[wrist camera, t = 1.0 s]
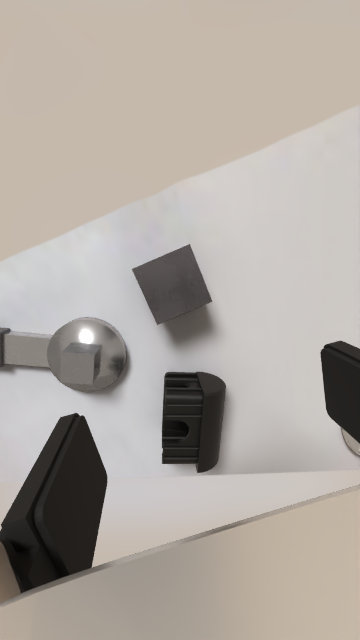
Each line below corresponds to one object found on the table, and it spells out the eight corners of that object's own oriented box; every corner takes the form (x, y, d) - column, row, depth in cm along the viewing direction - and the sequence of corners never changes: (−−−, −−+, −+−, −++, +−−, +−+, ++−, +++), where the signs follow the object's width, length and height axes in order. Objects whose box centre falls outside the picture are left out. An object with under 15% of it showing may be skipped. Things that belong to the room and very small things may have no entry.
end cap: (212, 435, 37) (223, 473, 30) (161, 435, 36) (162, 474, 29) (218, 369, 34) (232, 394, 28) (164, 368, 34) (166, 393, 27)
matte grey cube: (183, 247, 31) (189, 244, 25) (202, 294, 32) (212, 301, 26) (137, 267, 31) (132, 269, 25) (157, 313, 32) (157, 324, 26)
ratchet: (129, 321, 32) (123, 332, 27) (123, 388, 34) (116, 410, 29) (-65, 301, 30) (-110, 309, 25) (-60, 373, 32) (-100, 394, 27)
